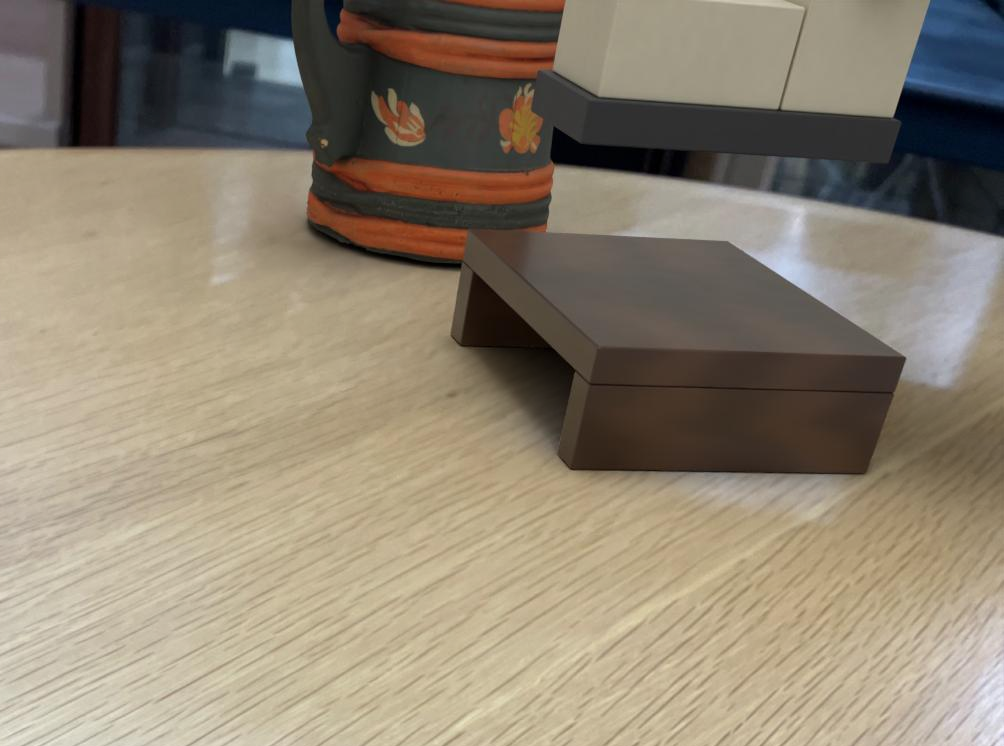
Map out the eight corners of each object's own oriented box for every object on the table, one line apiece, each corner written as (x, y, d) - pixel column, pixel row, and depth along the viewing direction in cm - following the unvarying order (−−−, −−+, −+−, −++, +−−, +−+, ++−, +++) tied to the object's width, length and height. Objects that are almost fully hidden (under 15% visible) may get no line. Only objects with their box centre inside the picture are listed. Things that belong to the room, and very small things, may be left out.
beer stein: (382, 293, 82) (444, -170, 69) (201, 226, 90) (227, -203, 77) (590, 253, 93) (677, -155, 80) (413, 196, 101) (466, -185, 88)
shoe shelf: (701, 342, 80) (728, 240, 77) (867, 474, 67) (908, 357, 64) (449, 334, 78) (467, 227, 74) (570, 469, 64) (598, 347, 61)
